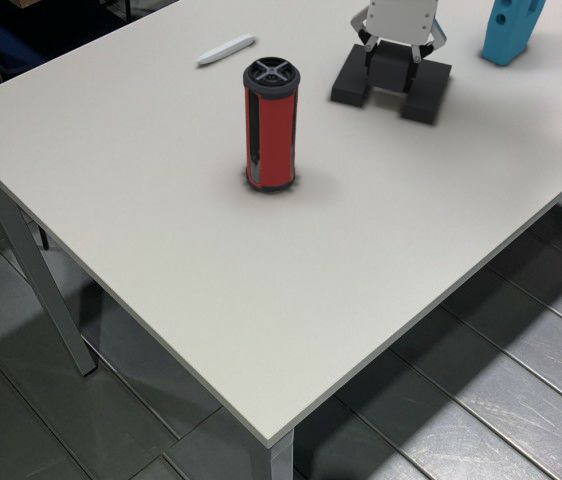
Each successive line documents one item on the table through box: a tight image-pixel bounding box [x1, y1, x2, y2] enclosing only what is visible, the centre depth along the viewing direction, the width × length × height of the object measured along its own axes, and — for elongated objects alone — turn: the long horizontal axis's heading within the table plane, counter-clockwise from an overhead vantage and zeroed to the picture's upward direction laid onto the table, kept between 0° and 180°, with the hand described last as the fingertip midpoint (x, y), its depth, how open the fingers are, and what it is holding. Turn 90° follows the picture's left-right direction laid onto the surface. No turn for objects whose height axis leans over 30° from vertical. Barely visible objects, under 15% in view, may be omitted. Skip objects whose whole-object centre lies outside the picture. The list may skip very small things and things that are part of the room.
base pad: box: [330, 43, 453, 126], centre depth 109 cm, size 18×14×2 cm
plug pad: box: [367, 39, 413, 94], centre depth 103 cm, size 6×6×4 cm
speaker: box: [242, 56, 302, 193], centre depth 89 cm, size 8×8×18 cm
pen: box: [195, 33, 256, 65], centre depth 113 cm, size 2×14×2 cm, turn 133°
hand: (389, 74), depth 104 cm, fingers closed on plug pad, 6 cm apart
